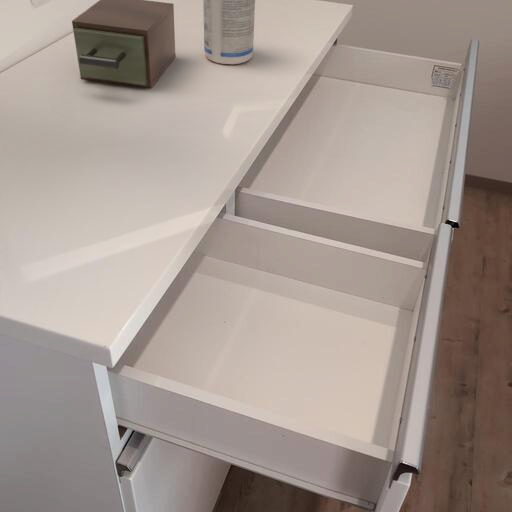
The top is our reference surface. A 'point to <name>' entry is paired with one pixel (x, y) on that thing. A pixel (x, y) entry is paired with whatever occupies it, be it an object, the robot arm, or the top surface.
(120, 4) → the cabinet
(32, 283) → the top surface
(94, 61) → the drawer
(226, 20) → the supplement tub
